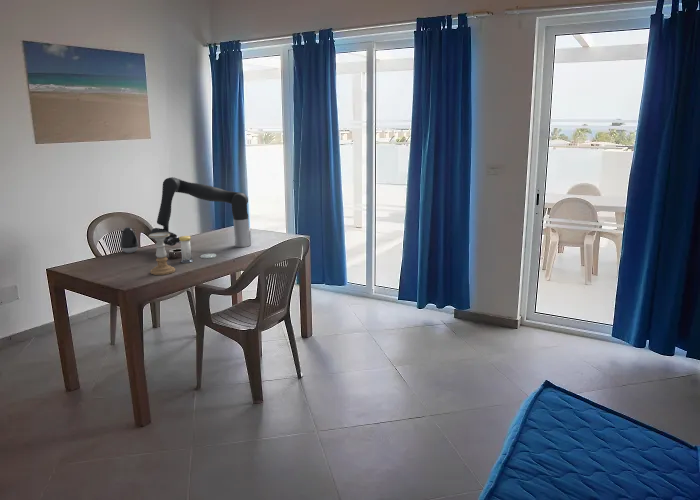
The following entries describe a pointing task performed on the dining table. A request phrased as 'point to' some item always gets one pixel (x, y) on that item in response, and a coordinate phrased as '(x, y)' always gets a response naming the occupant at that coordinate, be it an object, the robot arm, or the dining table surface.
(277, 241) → the dining table surface
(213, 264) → the dining table surface
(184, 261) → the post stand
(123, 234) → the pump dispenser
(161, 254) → the candle holder
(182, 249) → the glass jar
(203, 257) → the coaster
